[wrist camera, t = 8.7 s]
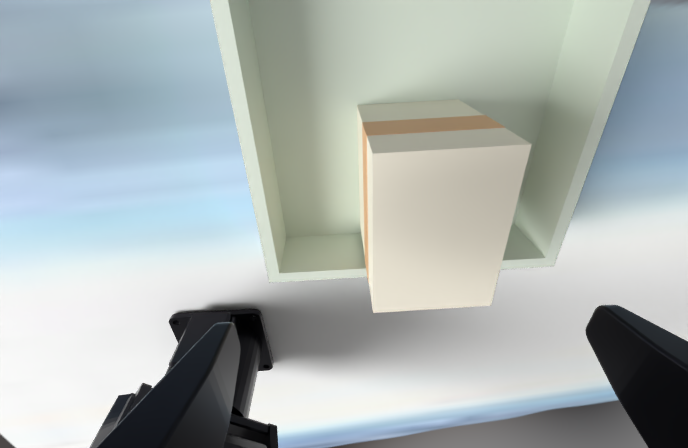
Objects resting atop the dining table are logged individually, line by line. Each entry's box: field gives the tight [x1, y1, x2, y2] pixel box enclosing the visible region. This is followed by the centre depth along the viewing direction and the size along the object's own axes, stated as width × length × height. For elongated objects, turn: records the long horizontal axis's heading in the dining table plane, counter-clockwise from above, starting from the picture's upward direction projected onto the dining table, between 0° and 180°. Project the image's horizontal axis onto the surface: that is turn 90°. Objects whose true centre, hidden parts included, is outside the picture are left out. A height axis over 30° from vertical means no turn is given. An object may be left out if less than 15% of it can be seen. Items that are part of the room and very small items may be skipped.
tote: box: [210, 0, 651, 283], centre depth 14 cm, size 21×15×4 cm
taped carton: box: [357, 99, 532, 313], centre depth 15 cm, size 7×5×7 cm
